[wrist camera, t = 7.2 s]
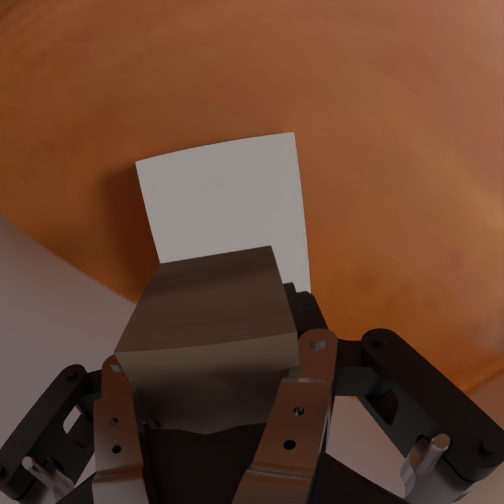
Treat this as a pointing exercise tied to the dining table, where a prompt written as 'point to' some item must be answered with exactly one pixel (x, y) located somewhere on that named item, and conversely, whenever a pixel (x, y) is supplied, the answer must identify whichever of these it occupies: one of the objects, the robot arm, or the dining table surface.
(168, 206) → the block
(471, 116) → the dining table surface
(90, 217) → the dining table surface
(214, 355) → the walnut block
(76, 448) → the robot arm
